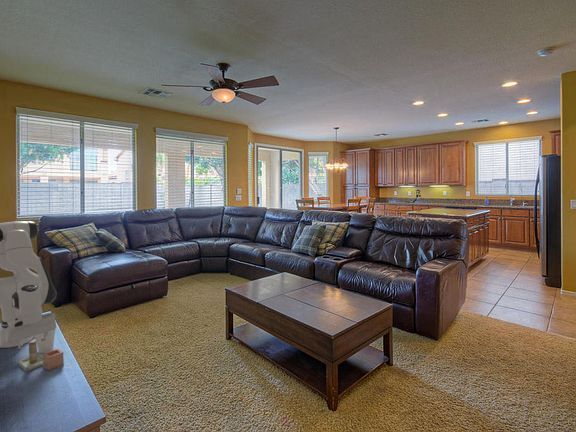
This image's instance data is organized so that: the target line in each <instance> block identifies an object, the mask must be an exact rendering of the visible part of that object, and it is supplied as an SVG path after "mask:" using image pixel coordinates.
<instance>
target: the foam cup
mask: <svg viewBox="0 0 576 432" xmlns="http://www.w3.org/2000/svg"><path fill="white" fill-rule="evenodd" d="M56 329H57V327H56V328H55V329H54V330H51V331H48V335H47V336H46V340H45V341H41V337H43V336H44V333H41V334H38V335H35V337H34V338H35V341H36V347H37V352H38V353H40V354H43V353H46V352H49V351H52V350H54V345H55V344H54V343H55V334H56Z"/></svg>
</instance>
